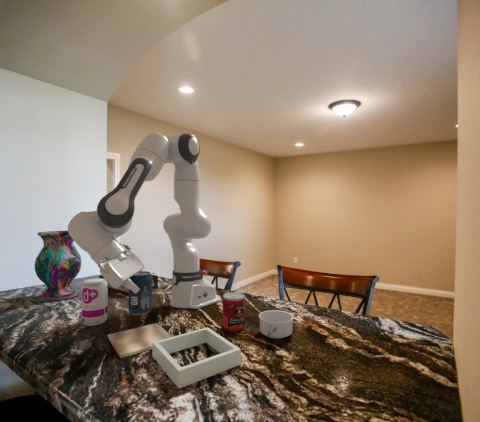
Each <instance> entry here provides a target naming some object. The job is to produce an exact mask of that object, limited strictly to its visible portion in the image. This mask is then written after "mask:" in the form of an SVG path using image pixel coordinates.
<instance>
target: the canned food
mask: <svg viewBox="0 0 480 422" xmlns="http://www.w3.org/2000/svg"><path fill="white" fill-rule="evenodd" d="M245 324H246V295H245V294H244V293H242V292H238V291H237V292H235V291H233V292H226V293H224V294H223V295H222V327H223V329H224V330H226V331H227V332H240V331H243V329H245Z"/></svg>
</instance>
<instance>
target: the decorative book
mask: <svg viewBox="0 0 480 422" xmlns="http://www.w3.org/2000/svg"><path fill="white" fill-rule="evenodd" d="M155 274H156V272H152V273H150V275H151V276H152V289H153V290H156V289H158V288H159V287H158V286H159V275H157V274H156V275H155ZM98 278H104V277H103V276H102V274H100V275H98ZM104 279H105V278H104ZM106 282H107V280H106ZM107 283H108V282H107ZM108 291H110V292H113V293H116V292H117V294H120V293H121V294H120V295H123V294H124V295H125V296H127V295H128V296H127V297H129V289H128V288H126V287H125V286H124V285H121V286H120V287H118V288H114V287H112V286H111V285H110V284H109V283H108Z"/></svg>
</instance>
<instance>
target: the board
mask: <svg viewBox="0 0 480 422" xmlns="http://www.w3.org/2000/svg"><path fill="white" fill-rule="evenodd" d="M170 337H173V336H172V335H171V334H170V333H169V332H167V330H165V328H163V327H162V326H161V325H159V323H157V322H156V323H151V324H147V325H142V326H138V327H133V328H130V329H126V330H123V331H121V330H120V331H118V332H113V333H109V334H107V339H108V340H109V342H110V343H111V345H112V347H113V349H114V350H115V351H116V353H117V355H118V357H119V358H120V359H123V358H126V357H127V358H128V357H131V356H133V355H137V354H140V353H143V352H147V351H150V350H152V342H156V341H159V340H163V339H167V338H170Z"/></svg>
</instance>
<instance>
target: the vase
mask: <svg viewBox="0 0 480 422" xmlns="http://www.w3.org/2000/svg"><path fill="white" fill-rule="evenodd" d="M37 236H39V238H40V239H41V240H42V242H43V247H42V248H41V249H40V252H39V253H38V255H37V256H36V258H35V261H34V271H35V274H36V276H37V278H38V279H39V281H41V282H42V283H43V284H44V285H45V286H46V289H45V291H43V292H42V293H41V294H39V295H38V296H37V297H36V300H37V301H41V302H57V301H64V300H68V299H71V298H75V297H76V296H79V294H80V292H79V291H78V290H76V289H75V288H73V287H71V284H72V281H74V279H75V278H76V277H77V276H78V275H79V273H80V271H81V267H82V257H81V255H80V253H79V251H78V250H77V248H76V246H75V245H74V242H75V241H74V240H73V239H72V238H71V236H70V235H69V233H68V230H52V231H49V230H48V231H47V230H46V231H40V232H39V231H38V232H37Z"/></svg>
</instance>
